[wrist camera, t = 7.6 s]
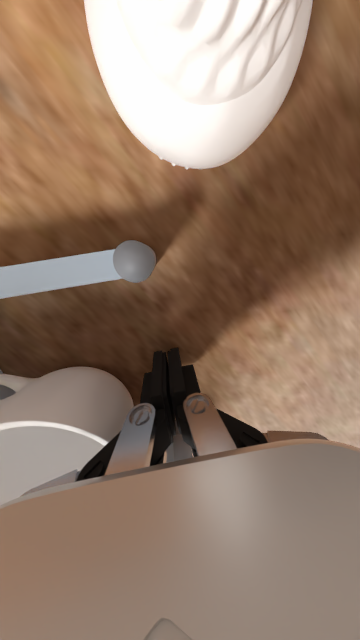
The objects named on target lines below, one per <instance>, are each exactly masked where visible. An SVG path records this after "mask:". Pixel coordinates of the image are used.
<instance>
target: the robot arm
mask: <svg viewBox="0 0 360 640" xmlns="http://www.w3.org/2000/svg"><path fill="white" fill-rule="evenodd" d="M170 350H171V351H168V362H167V357H166V353H165V352H162V351H156V352H154V356H153V368H152V372H149V373H145V374H144V380H143V386H142V393H141V400H140V404H138V405H136V406H135V407H133V408H132V409H131V410H130V411H129V413H128V414H127V416H126V419H125V422H124V424H123V427H122V430H121V431H120V432H119V433H118V434H117V435H116V436H115V437H114V438H113V439H112V440H111V441H110V442H109V443H108V444H106V445H105V446H104V447H103V448H102V449H101V450H100V451H99V452H98V453H97V454H96V455H95V456H94V457H93V458H92V459H91V460H90V461H88V462H87V464H86V465H85V466H84V467H83V468H82V470H80V471H78V469H76V470H73V471H71V472H69V473H67V474H64V475H62V476H60V477H57V478H55V479H53V480H51V481H48V482H46V483H44V484H41V485H39V486H37V487H35V488H32V489H30V490H29V491H27V492H25V493H24V494H22V495H21V496H20V497H18V498H16V499H13V500H11V501H9V502H7V503H4V504H2V505H0V640H360V448H357V447H354V446H351V445H347V444H344V443H340V442H335V441H329V440H328V439H327V438H325V437H324V436H322V435H320V434H317V433H312V432H292V431H267V433H261V432H260V431H258V430H257V429H255V428H253V427H252V426H250V425H248V424H246V423H244V422H242V421H240V420H238V419H236V418H234V417H232V416H230V415H228V414H226V413H224V412H222V411H220V410H218V409H216V408H215V406H214V404H213V402H212V400H211V399H210V398H209V396H207V395H206V394H203V393H200V389H199V385H198V382H197V378H196V374H195V371H194V367H193V364H192V365H187V366H181V361H180V355H179V349H178V348H173V349H170ZM175 418H176V422H177V427H178V431H179V435H180V434H182V437H183V441H184V442H185V443H186V444H188V445H189V446H191V449H192V453H193V456H194V457H193V458H188V459H183V460H178V461H173V462H168V463H166V459H167V451H166V450H167V448H168V447H169V446H170V445H171V443H173V436H175V435H176V423H175Z"/></svg>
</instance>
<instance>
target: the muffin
mask: <svg viewBox="0 0 360 640" xmlns="http://www.w3.org/2000/svg"><path fill="white" fill-rule="evenodd" d="M312 3H313V0H84V4H85V12H86V19H87V25H88V31H89V35H90V40H91V44H92V48H93V52H94V56H95V59H96V62H97V66H98V69H99V71H100V74H101V77H102V80H103V82H104V85H105V87H106V90H107V92H108V94H109V96H110V98H111V100H112V103H113V105H114V106H115V108H116V110H117V112H118V113H119V115H120V117H121V118H122V120H123V121H124V123H125V124H126V126H127V127H128V128H129V129H130V131H131V132H132V133H133V134H134V135H135V137H136V138H137V139H138V140H139V141H140V142H141V143H142V144H144V145H145V146H146V147H147V149H148V150H151V151H152V152H153V153H155V154H156V155H158V156H159V158H160V159H161V160H162V159H164V160H166V161H168V162H171V163H172V165H173V166H176V165H179V166H183V167H185V168H186V169H189V168H194V169H208V168H214V167H218V166H220V165H223V164H225V163H227V162H229V161H231V160H233V159H234V158H236V157H237V156H239V155H240V154H241V153H242V152H244V151H245V150H246V149H247V148H248V147H249V146H250V145H251V144H252V143H253V142H254V141H255V140H256V139H257V138H258V137H259V136H260V135H261V133H262V132H263V131H264V130H265V129H266V127H267V126H268V125H269V123H270V122H271V121H272V119H273V118H274V116H275V115H276V113H277V111H278V110H279V108H280V106H281V105H282V103H283V101H284V99H285V97H286V95H287V93H288V91H289V89H290V86H291V84H292V81H293V79H294V76H295V73H296V71H297V68H298V65H299V62H300V58H301V55H302V51H303V48H304V44H305V40H306V36H307V31H308V26H309V21H310V16H311V10H312Z"/></svg>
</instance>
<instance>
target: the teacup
mask: <svg viewBox="0 0 360 640" xmlns="http://www.w3.org/2000/svg"><path fill="white" fill-rule="evenodd" d="M0 384H1V385H4V386H7V387H9V388H11V389H13V390H14V391H15V392H16V393H15V394H13V395H12V396H9V397H7V398H4V399H2V400H0V505H2V504H4V503H7V502H9V501H11V500H13V499H16V498H18V497H20V496H21V495H22V494H24V493H25V492H27V491H29V490H30V489H32V488H35V487H37V486H39V485H41V484H44V483H46V482H48V481H51V480H53V479H55V478H57V477H60V476H62V475H64V474H67V473H69V472H71V471H73V470H76V469H78V471H80V470H82V468H83V467H84V466H85V465H86V464H87V462H88V461H90V460H91V459H92V458H93V457H94V456H95V455H96V454H97V453H98V452H99V451H100V450H101V449H102V448H103V447H104V446H105V445H106V444H108V443H109V442H110V441H111V440H112V439H113V438H114V437H115V436H116V435H117V434H118V433H119V432H120V431H121V430H122V427H123V424H124V422H125V419H126V416H127V414H128V413H129V411H130V410H131V409H132V408H133V407H134V405H133V401H132V398H131V395H130V393H129V392H128V390H127V388H126V387H125V386H124V385H123V383H122V382H121V381H120V380H118V379H117V378H116V377H115V376H113V375H111V374H110V373H108V372H106V371H103V370H100V369H97V368H92V367H69V368H64V369H60V370H57V371H54V372H51V373H48V374H46V375H44V376H42V377H39V378H26V377H21V376H15V375H8V374H0Z"/></svg>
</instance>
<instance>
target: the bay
mask: <svg viewBox="0 0 360 640" xmlns="http://www.w3.org/2000/svg"><path fill="white" fill-rule="evenodd" d="M155 265H156V254H155V252H154V251H153V249H152V248H151V247H149V246H147V245H145V244H143V243H141V242H139V241H135V240H128V241H125V242H123V243H121V244H120V245H118V247H117V248H116V249H113V250H106V251H100V252H94V253H87V254H81V255H75V256H68V257H62V258H56V259H49V260H43V261H37V262H30V263H24V264H18V265H11V266H5V267H0V299H1V298H7V297H13V296H20V295H26V294H32V293H38V292H44V291H50V290H56V289H62V288H68V287H74V286H80V285H87V284H93V283H99V282H105V281H111V280H117V279H124V280H126V281H129V282H134V283H136V282H141V281H144V280H146V279H147V278H148V277H149V276H150V275H151V273H152V271H153V269H154V267H155ZM0 374H3V372H2V371H1V369H0ZM15 393H16V392H15V391H14V390H13V389H11V388H9V387H7V386H4V385H1V384H0V400H2V399H4V398H7V397H9V396H12V395H13V394H15ZM175 423H176V435H175V436H173V443H171V445H170V446H169V447H168V448H167V450H166V451H167V459H166V463H168V462H173V461H178V460H183V459H188V458H193V456H192V449H191V446H189V445H188V444H186V443H185V442H184V441H183V437H182V434H180V435H179V431H178V427H177V422H176V421H175Z"/></svg>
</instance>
